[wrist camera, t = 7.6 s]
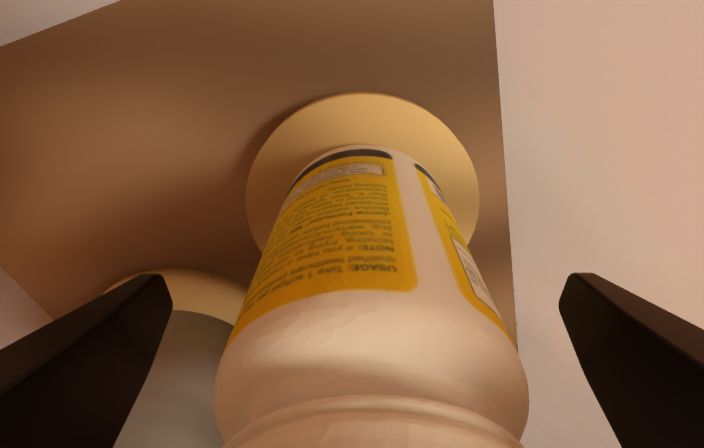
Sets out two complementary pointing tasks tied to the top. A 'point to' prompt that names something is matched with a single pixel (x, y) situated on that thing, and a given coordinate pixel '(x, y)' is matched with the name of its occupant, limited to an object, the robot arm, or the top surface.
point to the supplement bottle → (368, 322)
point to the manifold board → (229, 155)
